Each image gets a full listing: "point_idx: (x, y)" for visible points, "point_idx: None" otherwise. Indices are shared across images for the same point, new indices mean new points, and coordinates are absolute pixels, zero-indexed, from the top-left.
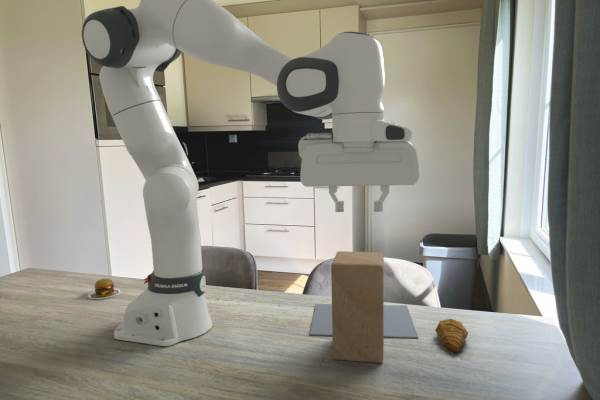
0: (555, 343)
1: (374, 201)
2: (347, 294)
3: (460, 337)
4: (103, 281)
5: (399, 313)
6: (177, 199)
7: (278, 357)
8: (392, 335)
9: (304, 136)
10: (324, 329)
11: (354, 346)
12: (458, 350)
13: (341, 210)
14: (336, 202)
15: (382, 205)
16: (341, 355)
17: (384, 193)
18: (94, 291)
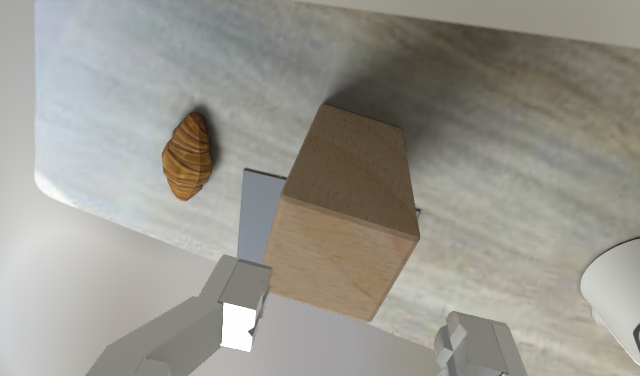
0: (42, 118)
1: (251, 323)
2: (378, 178)
3: (176, 133)
4: None
5: (254, 244)
6: None
7: (495, 153)
8: (283, 182)
9: None
10: None
11: (366, 126)
12: (190, 113)
13: (470, 317)
14: (521, 373)
15: (210, 277)
16: (388, 126)
17: (152, 344)
18: None
